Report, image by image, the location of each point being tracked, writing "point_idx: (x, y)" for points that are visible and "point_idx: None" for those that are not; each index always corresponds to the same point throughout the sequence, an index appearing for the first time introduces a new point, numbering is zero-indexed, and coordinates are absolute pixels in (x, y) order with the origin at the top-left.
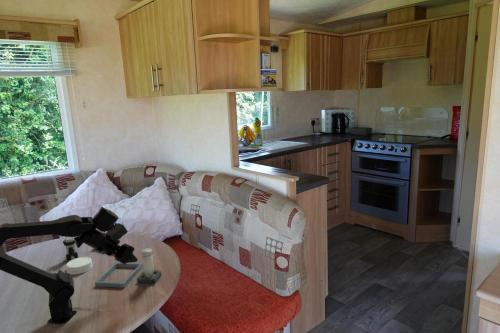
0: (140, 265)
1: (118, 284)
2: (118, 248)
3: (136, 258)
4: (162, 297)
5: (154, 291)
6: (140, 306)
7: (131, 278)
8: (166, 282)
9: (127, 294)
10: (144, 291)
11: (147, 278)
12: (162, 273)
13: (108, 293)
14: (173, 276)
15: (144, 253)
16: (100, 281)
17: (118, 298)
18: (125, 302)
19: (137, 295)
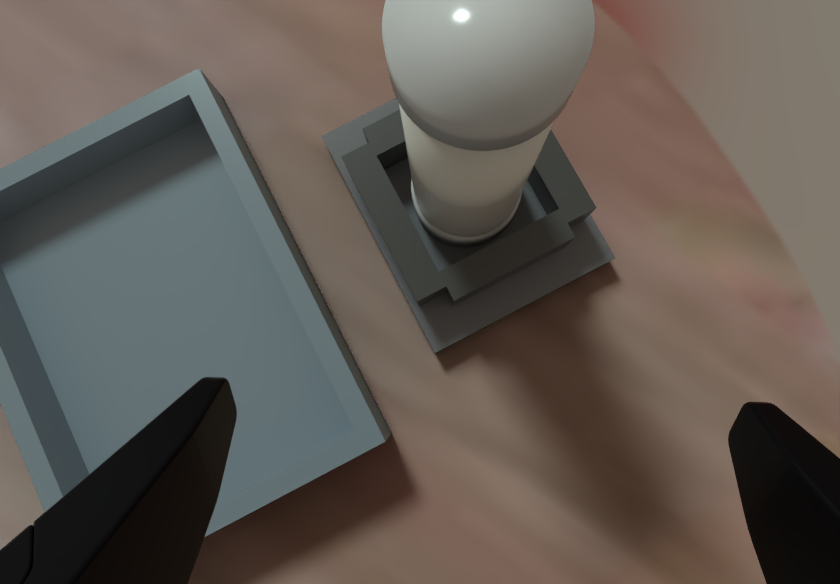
0: (218, 108)
1: (329, 469)
2: (124, 520)
3: (825, 456)
4: (808, 323)
5: (660, 298)
6: None
7: (321, 303)
8: (627, 138)
9: (486, 471)
10: (580, 350)
11: (518, 242)
12: None
13: (312, 562)
14: (596, 34)
15: (542, 111)
16: None
17: (471, 561)
18: (586, 566)
19: (582, 429)
